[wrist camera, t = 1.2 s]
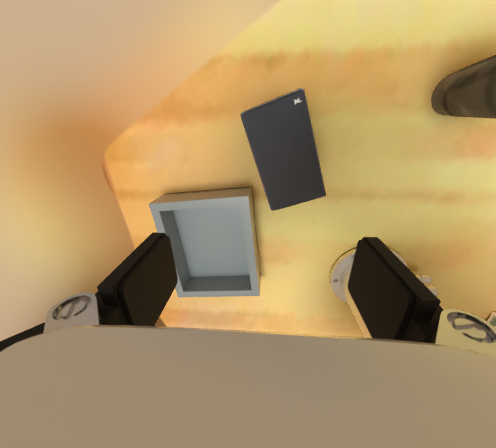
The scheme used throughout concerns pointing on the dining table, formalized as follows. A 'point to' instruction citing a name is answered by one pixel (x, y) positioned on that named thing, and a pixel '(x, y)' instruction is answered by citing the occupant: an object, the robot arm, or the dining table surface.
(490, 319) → the syrup box
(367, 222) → the dining table surface
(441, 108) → the beverage cup
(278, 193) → the small box
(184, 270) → the crate
